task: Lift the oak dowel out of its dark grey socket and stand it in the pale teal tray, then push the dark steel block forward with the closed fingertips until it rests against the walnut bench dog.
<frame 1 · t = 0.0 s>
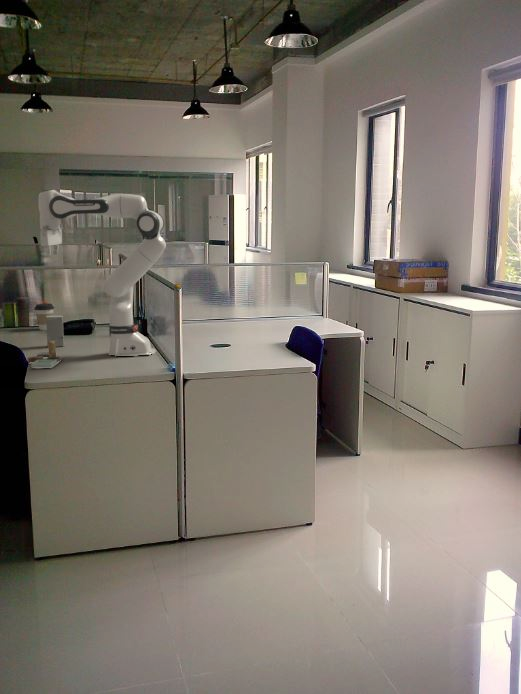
hand: (52, 255, 319), 48 cm above the table, tool pointing down, fingers open, 8 cm apart
dowel: (52, 352, 309), in the socket
socket: (53, 362, 310), on the table
steel block: (45, 358, 321), on the table
skincare box: (56, 346, 350), on the table
coffee cup: (46, 329, 402), on the table
tray: (44, 367, 302), on the table
bench dog: (36, 363, 310), on the table
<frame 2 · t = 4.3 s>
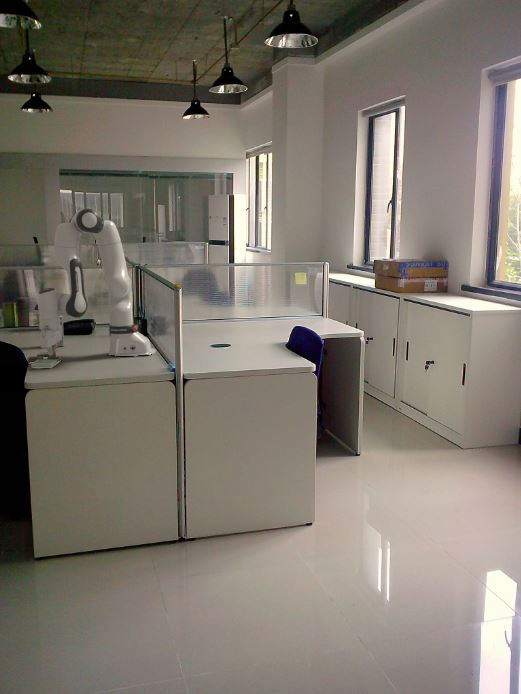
hand: (52, 354, 310), 4 cm above the table, tool pointing down, fingers closed on dowel, 3 cm apart
dowel: (52, 352, 309), in the socket, touching gripper
everything else where it was.
when the fingers open (6 cm above the table, at t = 8.7 s): dowel drops 1 cm, resting on tray.
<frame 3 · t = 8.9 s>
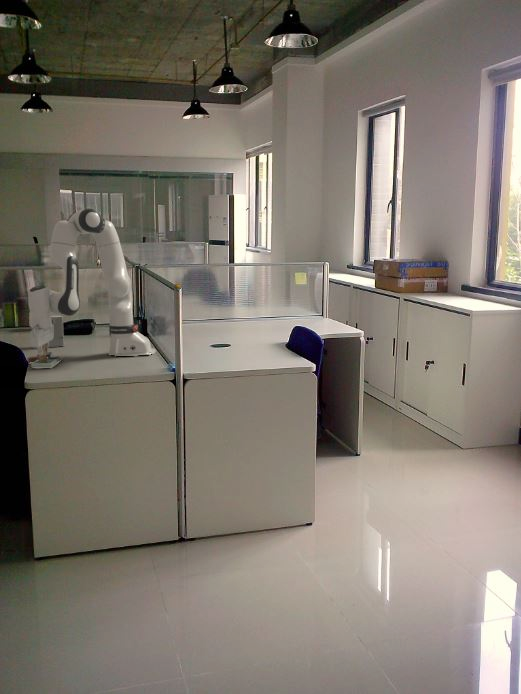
hand: (43, 353, 301), 6 cm above the table, tool pointing down, fingers open, 5 cm apart
dowel: (42, 354, 301), in the tray
everything else where it was.
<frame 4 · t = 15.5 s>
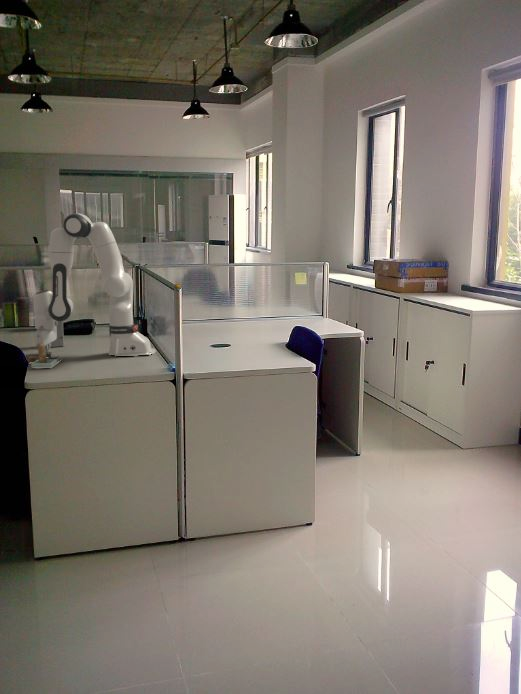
hand: (47, 352, 325), 2 cm above the table, tool pointing down, fingers closed
steel block: (45, 358, 321), on the table, touching gripper
everything else where it was.
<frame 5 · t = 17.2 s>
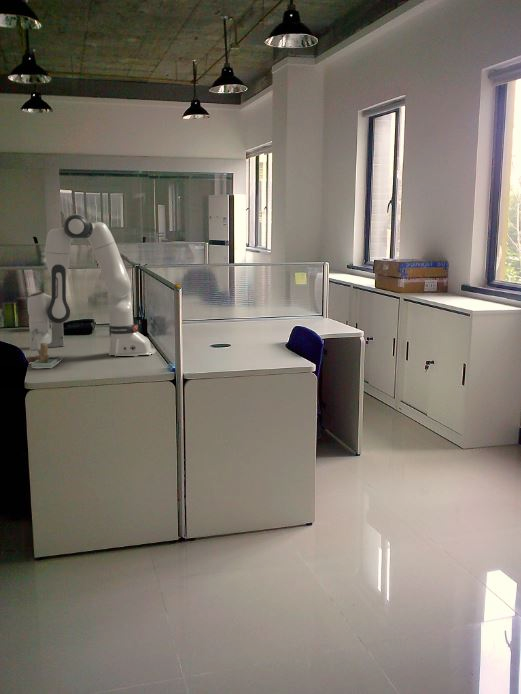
hand: (42, 356, 317), 2 cm above the table, tool pointing down, fingers closed
steel block: (40, 361, 314), on the table, touching bench dog, gripper
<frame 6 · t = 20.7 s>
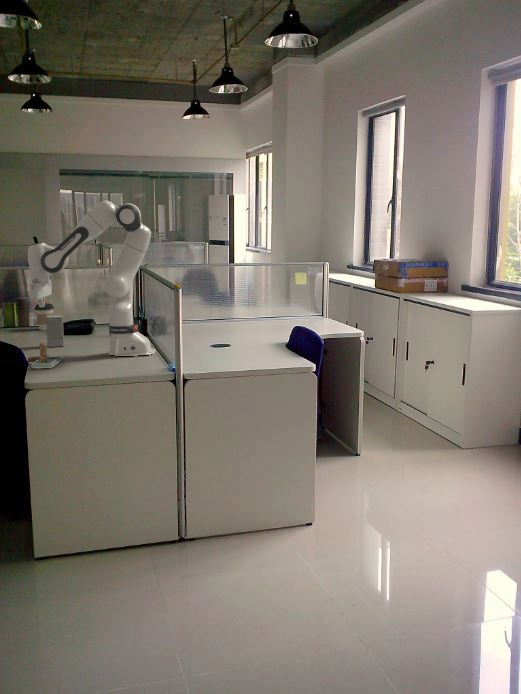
hand: (42, 307, 319), 24 cm above the table, tool pointing down, fingers closed
steel block: (41, 362, 314), on the table
everything else where it was.
at the end: dowel 0.3 cm off-centre on the tray, point 5.6 cm above the tray's base; steel block 0.9 cm from the target spot on the table beside the bench dog, on the table; the gripper is holding nothing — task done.
